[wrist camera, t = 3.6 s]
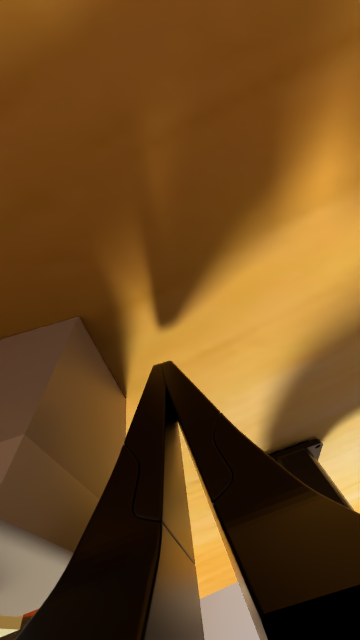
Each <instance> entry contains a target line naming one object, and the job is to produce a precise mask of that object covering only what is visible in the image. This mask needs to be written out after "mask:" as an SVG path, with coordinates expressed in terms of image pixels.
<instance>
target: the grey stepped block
mask: <svg viewBox="0 0 360 640" xmlns="http://www.w3.org/2000/svg"><path fill="white" fill-rule="evenodd" d="M125 437H126V399H125V397H124V395H123V394H122V392H121V390H120V388H119V386H118V385H117V383H116V381H115V379H114V378H113V376H112V374H111V372H110V371H109V369H108V367H107V365H106V364H105V362H104V360H103V358H102V356H101V355H100V353H99V351H98V349H97V348H96V346H95V344H94V342H93V341H92V339H91V337H90V335H89V334H88V332H87V330H86V328H85V327H84V325H83V323H82V321H81V319H80V318H79V316H78V317H75V318H72V319H68V320H65V321H61V322H58V323H55V324H51V325H48V326H44V327H41V328H38V329H34V330H31V331H27V332H24V333H20V334H17V335H14V336H10V337H7V338H3V339H0V615H4V616H14V617H19V616H21V615H24V614H26V613H29V612H31V611H34V610H37V609H39V608H40V607H41V605H42V604H43V603H44V601H45V600H46V599H47V597H48V596H49V594H50V593H51V591H52V590H53V588H54V587H55V585H56V584H57V582H58V580H59V579H60V577H61V576H62V574H63V572H64V570H65V568H66V567H67V565H68V563H69V561H70V559H71V557H72V555H73V553H74V551H75V549H76V547H77V545H78V543H79V541H80V539H81V537H82V535H83V533H84V530H85V528H86V526H87V524H88V522H89V520H90V518H91V516H92V514H93V512H94V510H95V508H96V506H97V504H98V502H99V500H100V498H101V495H102V493H103V491H104V489H105V487H106V485H107V483H108V480H109V478H110V476H111V474H112V471H113V469H114V466H115V464H116V462H117V459H118V457H119V454H120V451H121V449H122V446H123V445H125V444H124V441H125Z"/></svg>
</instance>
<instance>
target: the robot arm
mask: <svg viewBox="0 0 360 640" xmlns="http://www.w3.org/2000/svg"><path fill="white" fill-rule="evenodd" d="M178 423H179V426H180V428H181V431H182V434H183V436H184V439H185V442H186V444H187V447H188V450H189V452H190V455H191V458H192V460H193V463H194V466H195V468H196V471H197V473H198V476H199V479H200V481H201V484H202V487H203V489H204V492H205V495H206V497H207V500H208V503H209V505H210V508H211V511H212V513H213V516H214V519H215V521H216V524H217V527H218V529H219V532H220V534H221V537H222V540H223V542H224V545H225V548H226V550H227V553H228V556H229V558H230V561H231V564H232V566H233V569H234V572H235V574H236V577H237V580H238V582H239V585H240V587H241V590H242V593H243V596H244V598H245V601H246V603H247V606H248V609H249V611H250V614H251V617H252V619H253V622H254V625H255V627H256V630H257V633H258V635H259V638H260V640H360V514H359V513H357V512H355V511H354V510H353V508H352V507H351V505H350V504H349V503H348V501H347V500H346V499H345V497H344V496H343V495H342V493H341V492H340V491H339V489H338V488H337V486H336V485H335V484H334V482H333V481H332V480H331V478H330V477H329V476H328V474H327V473H326V472H325V470H324V469H323V467H322V466H321V465H320V463H319V462H318V458H319V455H320V452H321V449H322V446H323V443H322V442H321V441H320V440H319V439H315V440H312V441H309V442H306V443H304V444H301V445H298V446H295V447H293V448H290V449H287V450H284V451H282V452H279V453H276V454H273V455H271V456H269V455H268V454H266V453H265V452H264V451H263V450H262V449H260V448H259V447H258V446H257V445H255V444H254V443H253V442H252V441H251V440H250V439H248V438H247V437H246V436H245V435H244V434H243V433H241V432H240V431H239V430H238V429H237V428H236V427H235V426H234V425H233V424H232V423H231V422H230V421H229V420H228V419H227V418H226V417H225V416H224V415H223V414H222V413H220V411H219V410H218V409H217V408H216V407H215V406H214V405H213V404H212V403H211V401H210V400H209V399H208V398H207V397H206V396H205V395H204V394H203V393H202V392H201V391H200V390H199V389H198V388H197V387H196V386H195V385H194V384H193V383H192V382H191V381H190V380H189V379H188V378H187V377H186V376H185V374H184V373H183V372H182V371H181V370H180V369H179V368H178V367H177V366H176V365H175V364H174V363H173V362H172V361H167V362H163V363H160V364H157V365H154V366H153V367H152V370H151V373H150V375H149V378H148V381H147V383H146V386H145V388H144V391H143V394H142V396H141V399H140V402H139V404H138V407H137V410H136V412H135V415H134V417H133V420H132V423H131V425H130V428H129V431H128V433H127V436H126V438H125V441H124V444H125V445H123V446H122V449H121V451H120V454H119V457H118V459H117V462H116V464H115V466H114V469H113V471H112V474H111V476H110V478H109V480H108V483H107V485H106V487H105V489H104V491H103V493H102V495H101V498H100V500H99V502H98V504H97V506H96V508H95V510H94V512H93V514H92V516H91V518H90V520H89V522H88V524H87V526H86V528H85V530H84V533H83V535H82V537H81V539H80V541H79V543H78V545H77V547H76V549H75V551H74V553H73V555H72V557H71V559H70V561H69V563H68V565H67V567H66V568H65V570H64V572H63V574H62V576H61V577H60V579H59V580H58V582H57V584H56V585H55V587H54V588H53V590H52V591H51V593H50V594H49V596H48V597H47V599H46V600H45V601H44V603H43V604H42V605H41V607H40V608H39V609H38V610H37V612H36V613H35V614H34V616H33V617H32V618H31V619H30V621H29V622H28V623H27V625H26V626H25V627H24V628H23V630H22V631H21V632H20V634H19V635H18V636H17V637H16V639H15V640H204V632H203V624H202V617H201V608H200V600H199V591H198V583H197V575H196V567H195V559H194V551H193V543H192V534H191V526H190V518H189V510H188V502H187V493H186V485H185V477H184V469H183V461H182V452H181V444H180V436H179V428H178Z"/></svg>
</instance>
